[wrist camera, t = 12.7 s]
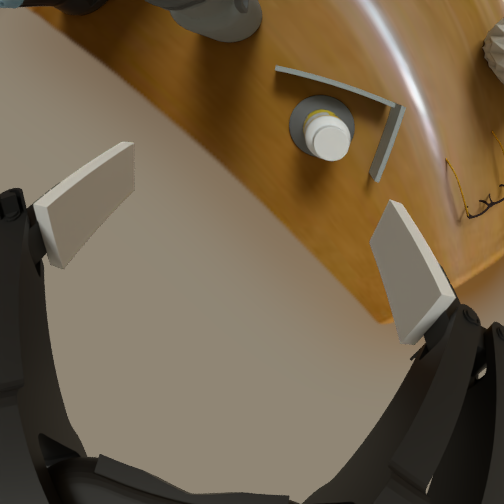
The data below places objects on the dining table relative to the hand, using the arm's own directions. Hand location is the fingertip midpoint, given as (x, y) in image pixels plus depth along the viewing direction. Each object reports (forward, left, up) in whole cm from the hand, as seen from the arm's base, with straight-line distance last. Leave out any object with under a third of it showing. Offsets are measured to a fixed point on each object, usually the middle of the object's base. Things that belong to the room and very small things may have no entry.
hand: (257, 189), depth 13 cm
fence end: (+19, 0, -35) cm, 40 cm away
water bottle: (-10, +14, -35) cm, 39 cm away
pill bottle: (+8, -2, -34) cm, 35 cm away
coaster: (+8, -2, -35) cm, 36 cm away
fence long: (+8, +6, -35) cm, 36 cm away
